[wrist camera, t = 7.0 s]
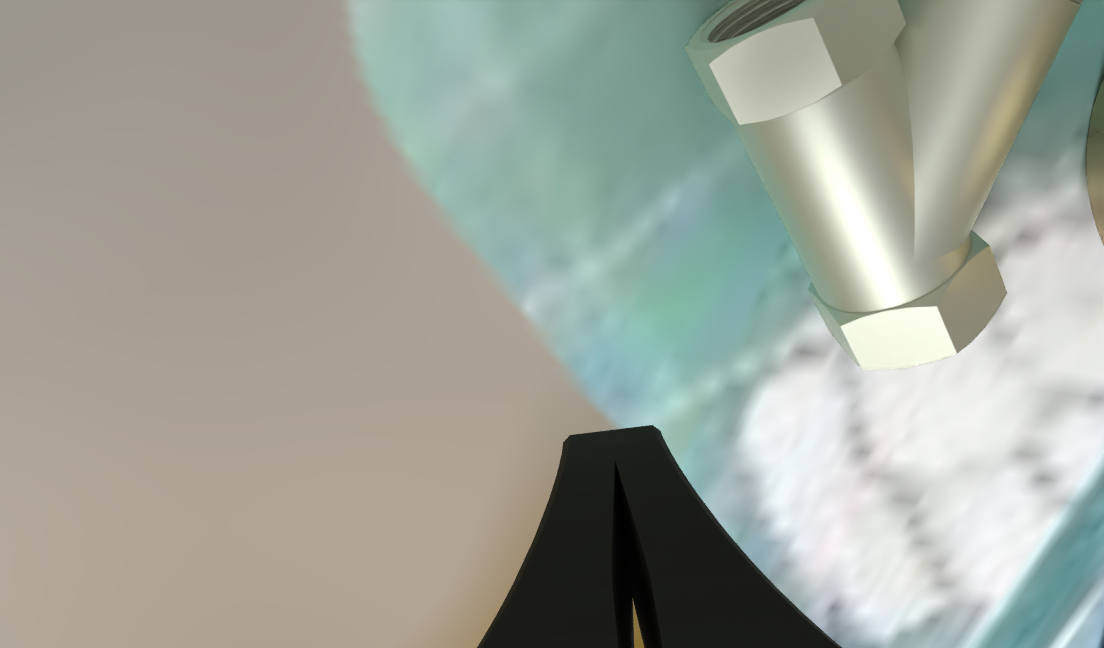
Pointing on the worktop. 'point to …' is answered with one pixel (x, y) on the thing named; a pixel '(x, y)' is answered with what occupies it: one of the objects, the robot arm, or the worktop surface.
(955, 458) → the worktop surface
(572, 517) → the robot arm
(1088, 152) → the grey block with discs
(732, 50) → the pipe fitting
